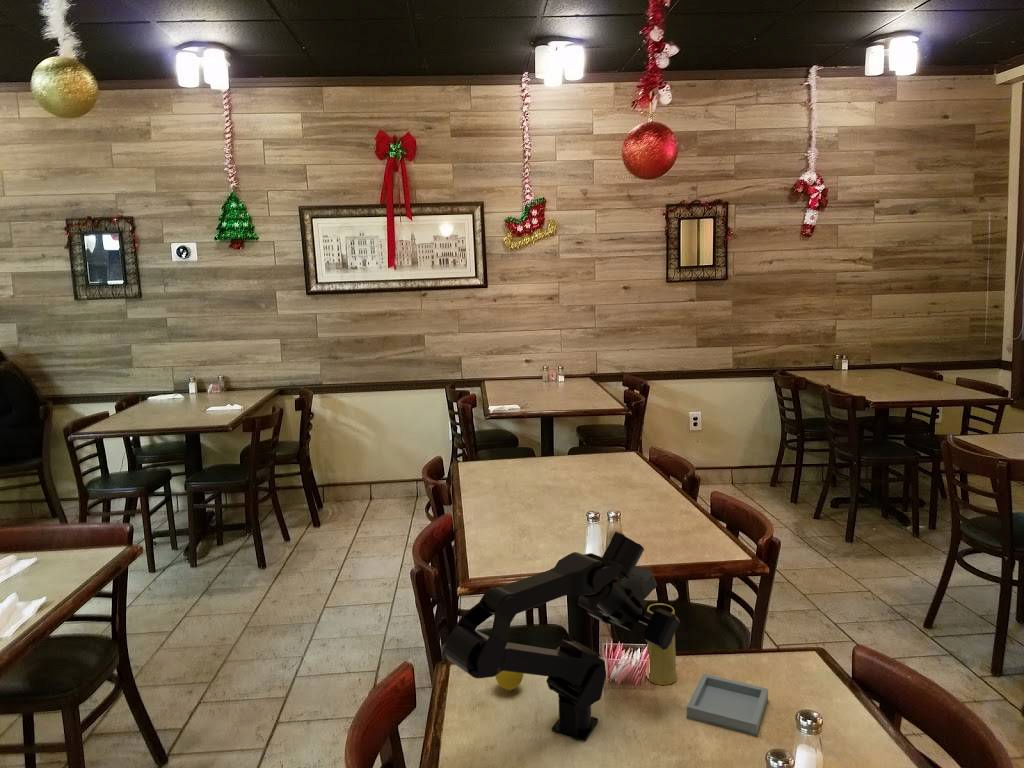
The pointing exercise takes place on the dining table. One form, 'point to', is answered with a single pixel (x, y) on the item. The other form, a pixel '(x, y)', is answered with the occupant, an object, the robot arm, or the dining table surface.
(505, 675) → the lemon
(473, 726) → the dining table surface
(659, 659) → the vase
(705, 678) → the tray
